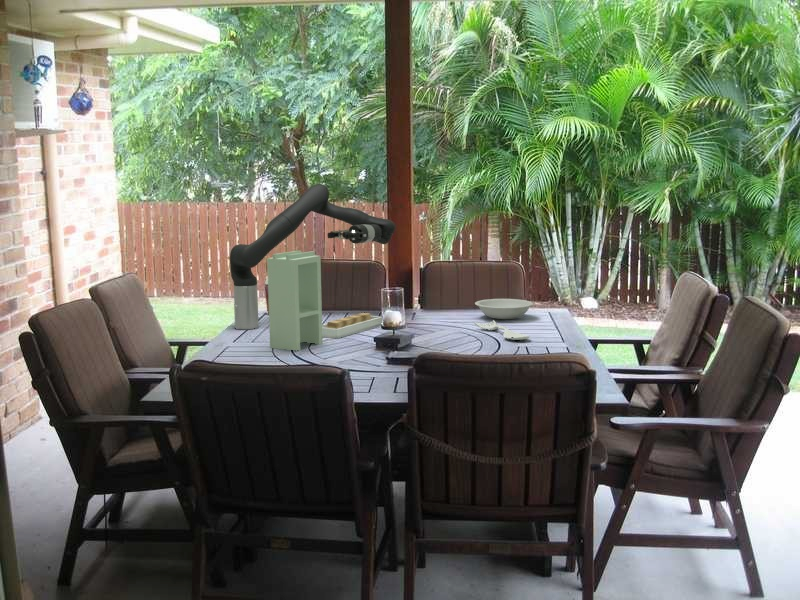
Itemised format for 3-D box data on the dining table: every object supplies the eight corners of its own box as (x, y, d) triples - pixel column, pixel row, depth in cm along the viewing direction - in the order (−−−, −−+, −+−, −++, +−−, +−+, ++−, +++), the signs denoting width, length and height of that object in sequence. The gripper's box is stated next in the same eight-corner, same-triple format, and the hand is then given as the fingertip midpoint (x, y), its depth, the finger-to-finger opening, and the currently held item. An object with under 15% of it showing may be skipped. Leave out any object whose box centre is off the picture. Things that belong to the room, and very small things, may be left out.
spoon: (493, 327, 357) (493, 319, 356) (534, 342, 327) (535, 333, 327) (473, 329, 353) (473, 320, 353) (512, 344, 324) (512, 335, 323)
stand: (296, 351, 315) (294, 255, 310) (270, 347, 321) (267, 254, 316) (322, 343, 328) (320, 251, 322) (296, 340, 334) (293, 250, 329)
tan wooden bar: (336, 333, 341) (336, 323, 341) (327, 332, 343) (327, 322, 343) (370, 323, 362) (370, 313, 361) (362, 322, 364) (362, 312, 363)
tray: (337, 338, 336) (337, 329, 336) (313, 336, 342) (313, 326, 341) (382, 325, 362) (382, 316, 362) (360, 323, 368) (359, 314, 367)
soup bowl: (542, 316, 379) (542, 301, 378) (518, 325, 359) (518, 309, 358) (491, 312, 392) (491, 297, 391) (464, 320, 372) (464, 304, 371)
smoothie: (288, 312, 395) (286, 267, 392) (279, 315, 387) (278, 269, 384) (270, 311, 398) (269, 266, 395) (262, 315, 390) (260, 269, 387)
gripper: (347, 223, 369) (322, 225, 355) (375, 225, 361) (351, 227, 347) (347, 242, 370) (322, 244, 356) (375, 243, 362) (351, 246, 348)
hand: (336, 236), depth 352 cm, fingers open, 8 cm apart
